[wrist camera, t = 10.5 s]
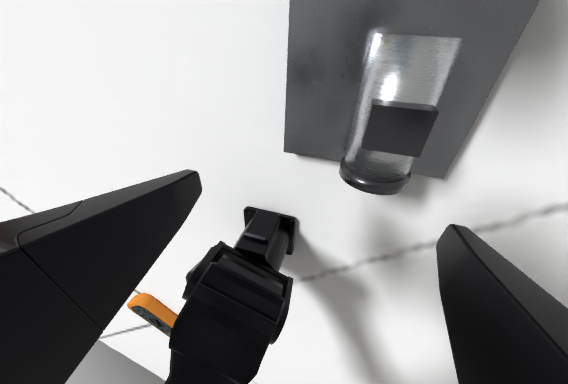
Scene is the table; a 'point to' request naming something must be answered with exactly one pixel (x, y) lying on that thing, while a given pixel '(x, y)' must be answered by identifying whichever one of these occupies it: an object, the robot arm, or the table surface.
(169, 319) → the multimeter
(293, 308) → the table surface
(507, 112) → the table surface
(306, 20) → the plate
